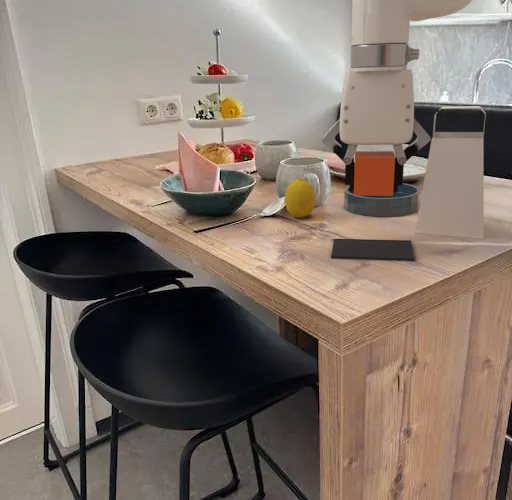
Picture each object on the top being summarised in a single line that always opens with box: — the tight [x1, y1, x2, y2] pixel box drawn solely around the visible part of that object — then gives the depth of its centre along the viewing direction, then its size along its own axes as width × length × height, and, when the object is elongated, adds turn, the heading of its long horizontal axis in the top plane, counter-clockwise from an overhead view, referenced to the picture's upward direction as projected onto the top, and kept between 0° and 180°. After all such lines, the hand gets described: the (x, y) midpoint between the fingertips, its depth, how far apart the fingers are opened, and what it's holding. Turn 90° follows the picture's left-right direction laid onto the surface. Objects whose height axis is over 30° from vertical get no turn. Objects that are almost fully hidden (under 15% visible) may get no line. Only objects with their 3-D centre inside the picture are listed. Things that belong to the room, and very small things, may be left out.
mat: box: [330, 238, 416, 262], centre depth 77 cm, size 12×9×1 cm
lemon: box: [284, 177, 316, 219], centre depth 93 cm, size 6×6×8 cm
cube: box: [354, 150, 396, 196], centre depth 73 cm, size 6×6×6 cm
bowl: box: [343, 182, 422, 218], centre depth 98 cm, size 14×14×4 cm
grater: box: [414, 105, 487, 239], centre depth 82 cm, size 10×10×20 cm
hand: (373, 188), depth 74 cm, fingers closed on cube, 5 cm apart
